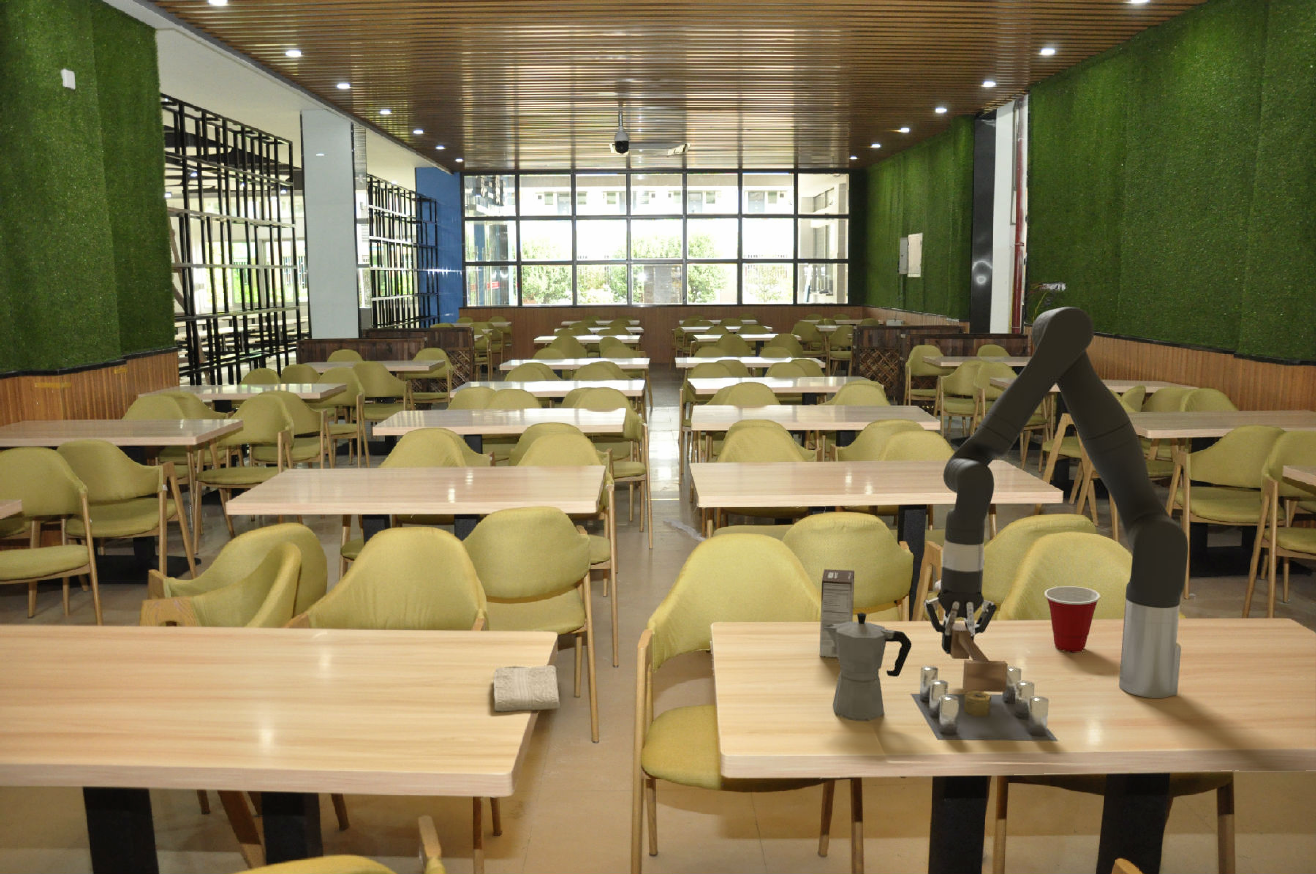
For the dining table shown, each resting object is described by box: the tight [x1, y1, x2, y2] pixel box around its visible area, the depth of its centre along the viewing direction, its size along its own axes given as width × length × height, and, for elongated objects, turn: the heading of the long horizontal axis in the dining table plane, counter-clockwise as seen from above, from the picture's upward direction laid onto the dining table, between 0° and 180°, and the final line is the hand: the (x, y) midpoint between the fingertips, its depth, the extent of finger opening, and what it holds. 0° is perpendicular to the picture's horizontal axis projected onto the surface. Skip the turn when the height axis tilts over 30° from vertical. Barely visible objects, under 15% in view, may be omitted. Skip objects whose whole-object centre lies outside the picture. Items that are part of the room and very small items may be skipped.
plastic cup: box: [1044, 585, 1101, 653], centre depth 226 cm, size 11×11×12 cm
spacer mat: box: [910, 693, 1059, 742], centre depth 190 cm, size 20×20×1 cm
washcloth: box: [493, 664, 561, 712], centre depth 200 cm, size 12×18×3 cm, turn 9°
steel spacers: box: [919, 664, 1049, 737], centre depth 190 cm, size 18×17×6 cm
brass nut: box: [964, 691, 991, 716], centre depth 192 cm, size 5×4×3 cm
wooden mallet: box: [949, 622, 1009, 693], centre depth 197 cm, size 7×22×5 cm, turn 179°
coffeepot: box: [824, 612, 912, 722], centre depth 191 cm, size 15×9×18 cm, turn 66°
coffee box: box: [819, 568, 855, 658], centre depth 223 cm, size 9×6×16 cm
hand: (956, 652), depth 205 cm, fingers closed on wooden mallet, 3 cm apart
